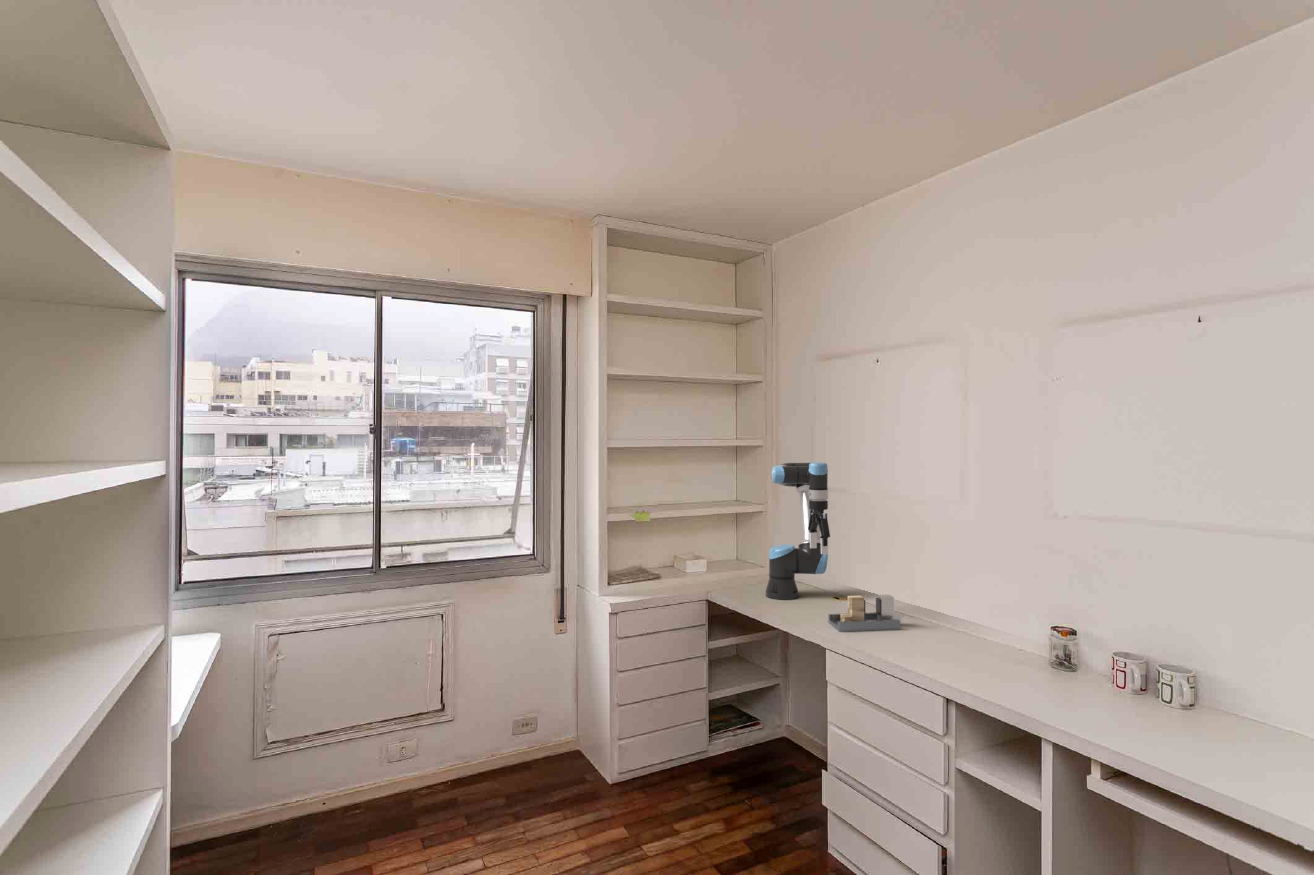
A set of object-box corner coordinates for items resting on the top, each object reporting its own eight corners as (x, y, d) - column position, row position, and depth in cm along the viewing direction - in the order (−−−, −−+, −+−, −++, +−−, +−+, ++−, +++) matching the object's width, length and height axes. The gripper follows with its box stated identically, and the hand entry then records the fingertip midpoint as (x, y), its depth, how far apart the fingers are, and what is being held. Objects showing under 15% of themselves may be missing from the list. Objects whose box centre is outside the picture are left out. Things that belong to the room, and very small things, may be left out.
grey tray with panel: (828, 622, 267) (828, 594, 267) (892, 620, 270) (892, 591, 270) (839, 631, 255) (839, 601, 255) (906, 629, 258) (905, 599, 258)
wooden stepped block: (840, 621, 263) (840, 596, 263) (861, 620, 264) (861, 595, 264) (844, 624, 260) (844, 598, 259) (865, 623, 260) (865, 598, 260)
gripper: (800, 497, 290) (800, 546, 290) (819, 503, 265) (820, 556, 265) (817, 496, 290) (817, 545, 291) (838, 503, 265) (838, 556, 266)
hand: (818, 551), depth 278 cm, fingers open, 13 cm apart
